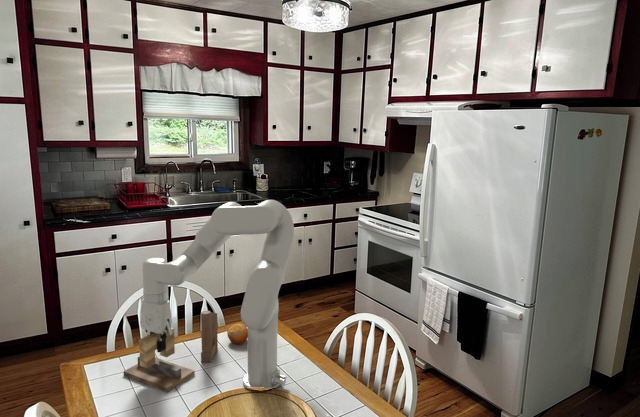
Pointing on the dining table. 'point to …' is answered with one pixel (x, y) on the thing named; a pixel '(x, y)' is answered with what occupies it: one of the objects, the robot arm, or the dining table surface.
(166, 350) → the wooden bridge block
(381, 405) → the dining table surface
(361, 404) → the dining table surface
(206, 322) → the wooden block
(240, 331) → the fruit
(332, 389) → the dining table surface
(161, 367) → the rib board
